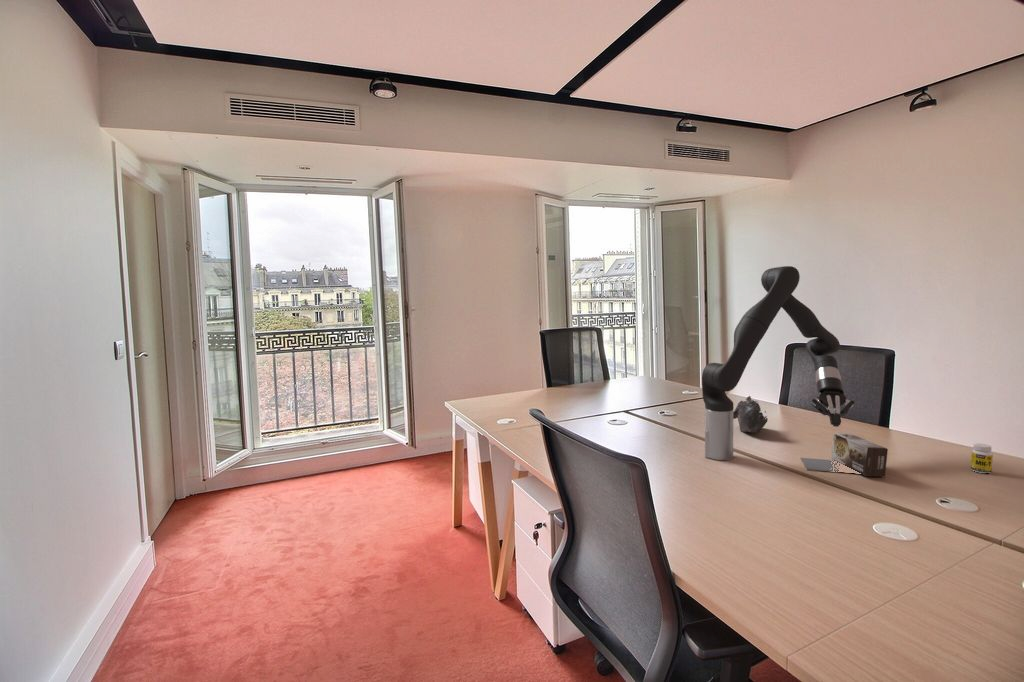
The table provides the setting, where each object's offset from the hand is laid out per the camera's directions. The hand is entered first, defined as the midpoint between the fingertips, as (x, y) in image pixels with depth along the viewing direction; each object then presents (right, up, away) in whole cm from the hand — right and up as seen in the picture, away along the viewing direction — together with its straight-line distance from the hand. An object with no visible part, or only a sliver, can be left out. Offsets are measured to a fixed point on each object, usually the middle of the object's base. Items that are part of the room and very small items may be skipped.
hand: (836, 425), depth 162 cm
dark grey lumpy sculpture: (-10, -10, +38) cm, 41 cm away
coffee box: (+3, -7, +3) cm, 9 cm away
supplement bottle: (+38, -13, -11) cm, 41 cm away
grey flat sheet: (-1, -13, -3) cm, 14 cm away
